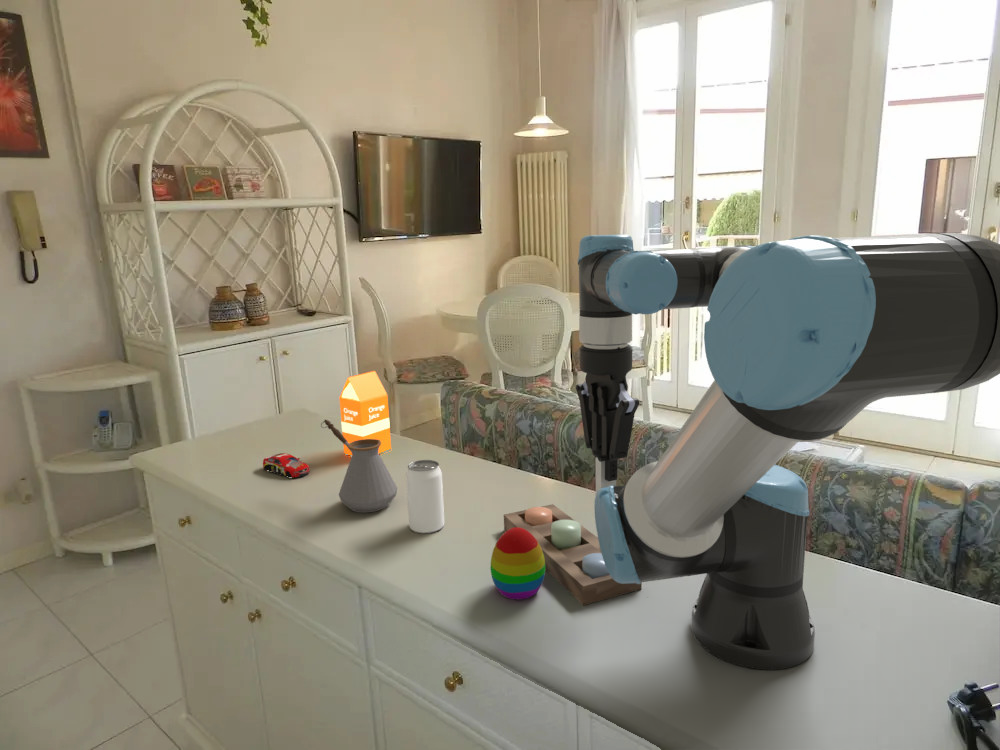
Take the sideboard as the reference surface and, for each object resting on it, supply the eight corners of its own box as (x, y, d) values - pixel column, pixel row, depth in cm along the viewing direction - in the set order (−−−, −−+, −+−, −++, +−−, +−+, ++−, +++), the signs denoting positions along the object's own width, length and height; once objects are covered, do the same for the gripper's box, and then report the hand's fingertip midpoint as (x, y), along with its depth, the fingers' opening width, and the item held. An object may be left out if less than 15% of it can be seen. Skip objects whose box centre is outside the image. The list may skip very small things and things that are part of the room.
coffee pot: (409, 504, 136) (404, 432, 133) (359, 522, 129) (353, 446, 126) (353, 478, 152) (348, 413, 149) (305, 493, 144) (299, 424, 141)
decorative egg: (505, 572, 108) (503, 513, 106) (553, 582, 105) (552, 522, 103) (482, 598, 101) (479, 535, 99) (533, 609, 98) (531, 545, 95)
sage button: (586, 549, 111) (586, 528, 110) (560, 556, 109) (560, 534, 108) (571, 537, 115) (571, 517, 115) (546, 543, 114) (546, 523, 113)
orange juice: (391, 450, 170) (386, 372, 166) (364, 460, 163) (358, 379, 159) (370, 445, 175) (364, 368, 170) (343, 454, 168) (336, 375, 164)
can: (438, 535, 122) (435, 471, 120) (404, 533, 123) (400, 470, 121) (448, 520, 128) (445, 459, 126) (415, 518, 130) (412, 458, 127)
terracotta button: (557, 534, 120) (556, 514, 120) (532, 539, 118) (532, 520, 118) (544, 524, 125) (544, 505, 124) (520, 529, 123) (520, 510, 122)
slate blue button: (620, 586, 102) (620, 563, 102) (593, 594, 101) (593, 571, 100) (603, 572, 107) (603, 550, 106) (576, 579, 105) (576, 557, 104)
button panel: (641, 588, 102) (641, 570, 101) (583, 605, 98) (583, 586, 98) (553, 519, 127) (552, 504, 127) (504, 530, 123) (503, 514, 123)
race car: (314, 475, 156) (312, 458, 155) (294, 482, 152) (292, 465, 151) (280, 463, 164) (278, 447, 163) (260, 470, 160) (258, 454, 159)
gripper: (655, 347, 94) (653, 508, 99) (601, 335, 105) (602, 480, 110) (610, 353, 91) (610, 519, 96) (560, 340, 102) (562, 488, 107)
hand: (605, 498), depth 103 cm, fingers closed
